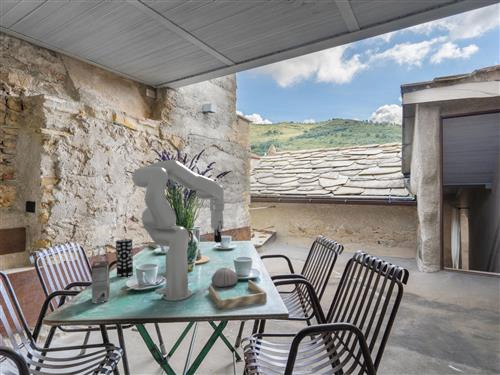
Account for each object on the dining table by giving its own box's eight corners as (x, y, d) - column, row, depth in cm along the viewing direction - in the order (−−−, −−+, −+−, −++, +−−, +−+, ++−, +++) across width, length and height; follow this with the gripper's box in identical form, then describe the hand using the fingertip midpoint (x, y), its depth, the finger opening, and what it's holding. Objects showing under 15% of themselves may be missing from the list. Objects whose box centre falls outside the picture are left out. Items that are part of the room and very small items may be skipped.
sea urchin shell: (206, 286, 143) (205, 270, 143) (220, 278, 155) (220, 263, 155) (229, 290, 137) (228, 273, 137) (242, 281, 149) (242, 266, 149)
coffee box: (94, 297, 132) (93, 261, 132) (110, 294, 135) (109, 260, 135) (91, 304, 124) (90, 266, 124) (108, 301, 126) (107, 264, 126)
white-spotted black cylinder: (132, 276, 162) (132, 240, 162) (116, 278, 158) (115, 242, 158) (133, 272, 169) (132, 238, 169) (117, 274, 166) (116, 239, 166)
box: (219, 309, 115) (219, 300, 115) (209, 293, 133) (208, 285, 133) (266, 301, 122) (266, 293, 122) (250, 287, 140) (250, 279, 140)
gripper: (207, 207, 163) (207, 240, 163) (213, 209, 148) (214, 245, 148) (220, 206, 166) (220, 239, 166) (227, 208, 151) (228, 243, 151)
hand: (217, 241), depth 157 cm, fingers closed
